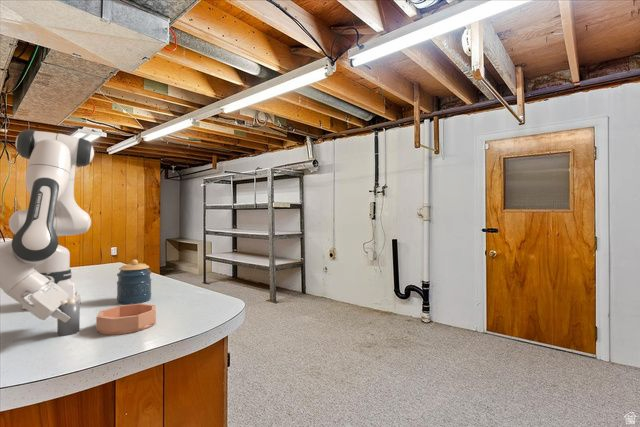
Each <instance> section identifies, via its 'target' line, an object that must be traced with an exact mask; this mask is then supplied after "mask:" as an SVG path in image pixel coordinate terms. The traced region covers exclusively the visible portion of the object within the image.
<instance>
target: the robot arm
mask: <svg viewBox="0 0 640 427" xmlns="http://www.w3.org/2000/svg"><path fill="white" fill-rule="evenodd" d="M15 148H16V152H17V154H18V155H19V156H21V158H24V159H26V160H28V163H27V166H26V171H25V187H26V190H27V191H28V193H29V203H28V208H27V209H21V210H16V211H15V212H13V213H12V214H11V216H10V217H9V220H8V227H9V229H10V232H12V233H13V235H14V236H13V238H12V239H11V240H8V241H3V242H0V289H1V290H2V291H3V292H4V294H6V296H9V297H10V298H11V299H13V300H14V301H16V302H17V303H19V304H21V305H22V306H21V309H22V310H27V311H28V312H29V313H31V314H32V315H33V316H35V317H36V319H37V318H38V319H39V320H42V321H45V320H46V319H48V318H49V317H50V316H51V317H52V318H55V319H60V320H62V321H63V322H67V321H68V320H69V319H70V318H71V316H69V315H68V314H65V313H63V312H61V310H60V309H58V307H59V306H60V305H61V301H62V300H68V299H70V298H74V299H75V301H78V302H80V304H82V299H81V295H80V294H78V291H77V290H76V289H75V287H76V286H75V283H74V281H73V280H72V277H73V276H72V274H73V273H72V269H71V268H70V266H71V264H70V263H71V262H70V261H71V260H70V259H71V253H70V251H69V249H68V248H67V247H65V246H63V245H61V244H59V237H64V236H65V237H66V236H67V237H68V236H69V237H70V236H77V235H81V234H86V233H87V232H88V231H89V229H91V228H90V227H91V225H92V220H91V217H90V214H89V213H88V212H87V211H85V210H84V209H82V208H81V207H80V206H79V205H78V204H77V202H76V199H75V178H76V167H77V168H80V167H86V166H89V165H90V164H91V162H92V161H93V159H94V157H95V150H94V147H93V143H91V140H88V139H85V138H83V137H80V138H78V137H76V136H72V135H67V134H63V133H60V132H59V133H56V132H51V131H50V132H49V131H41V130H39V131H38V130H37V129H23V130H21V131H20V132H19V133H18V135H17V136H16V138H15ZM75 290H76V291H75Z"/></svg>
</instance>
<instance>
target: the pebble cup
mask: <svg viewBox="0 0 640 427" xmlns="http://www.w3.org/2000/svg"><path fill="white" fill-rule="evenodd" d="M80 304H81V303H80V302H78V301H75V299H74V298H70V299H68V300H62V301H61V305H60V306H59V307H58V309H60V310H61V312H63V313H65V314H68V315H69V316H71V318H70V319H69V320H68V321H67V322H63V321H62V320H60V319H57V318H56V319H57V320H56V322H57V324H56V325H57V329H56V332H57V334H56V335H57V336H59V337H66V336H71V335H76V334H77V333H79V332H80V331H81V330H80V328H81V325H80V323H81V321H80V315H81V314H80V310H81V308H80Z"/></svg>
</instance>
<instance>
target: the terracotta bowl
mask: <svg viewBox="0 0 640 427" xmlns="http://www.w3.org/2000/svg"><path fill="white" fill-rule="evenodd" d="M156 306H157V305H156V304H149V303H136V304H121V305H116V306H113V307H110V308H107V309H103V310H99V312H98V313H97V316H96V329H95V330H96V331H97V332H98V333H99V334H102V335H106V336H107V335H108V336H116V335H127V334H128V335H129V334H133V333H139V332H141V331H145V330H147V329H150V328H152V327H153V326H154V325H155V324H156V323H157V320H156V319H157V318H156V317H157V309H156V308H157V307H156Z"/></svg>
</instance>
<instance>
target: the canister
mask: <svg viewBox="0 0 640 427" xmlns="http://www.w3.org/2000/svg"><path fill="white" fill-rule="evenodd" d="M149 268H150V266H149V265H148V264H146V263H139V261H138V260H137V259H132V260H131V261H130V263H128V264H127V263H126V264H124V265H122V266H121V267H119V268H118V270H119V272H118V273H117V274H116V276H117V281H116V301H117V304H120V305H131V304H143V303H145V302H148V301H150V300H152V299H151V298H152V280H153V279H152V278H151V274H152V271H151V270H149Z"/></svg>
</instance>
